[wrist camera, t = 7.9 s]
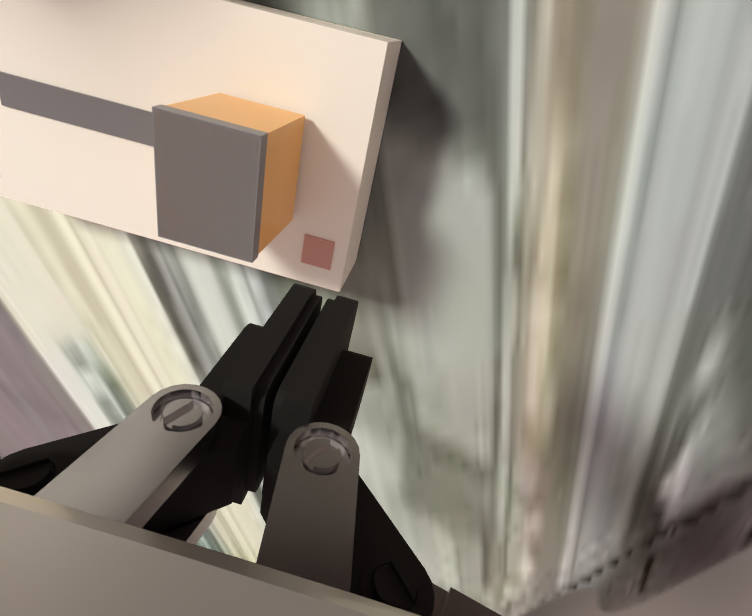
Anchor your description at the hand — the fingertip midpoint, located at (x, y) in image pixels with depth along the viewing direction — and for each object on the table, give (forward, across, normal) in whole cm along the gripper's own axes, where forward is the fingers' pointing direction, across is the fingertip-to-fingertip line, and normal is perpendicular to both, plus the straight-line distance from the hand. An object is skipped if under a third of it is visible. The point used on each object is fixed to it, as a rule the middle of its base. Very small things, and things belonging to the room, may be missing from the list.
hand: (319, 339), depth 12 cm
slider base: (+16, +12, 0) cm, 20 cm away
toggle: (+12, +6, 0) cm, 13 cm away
